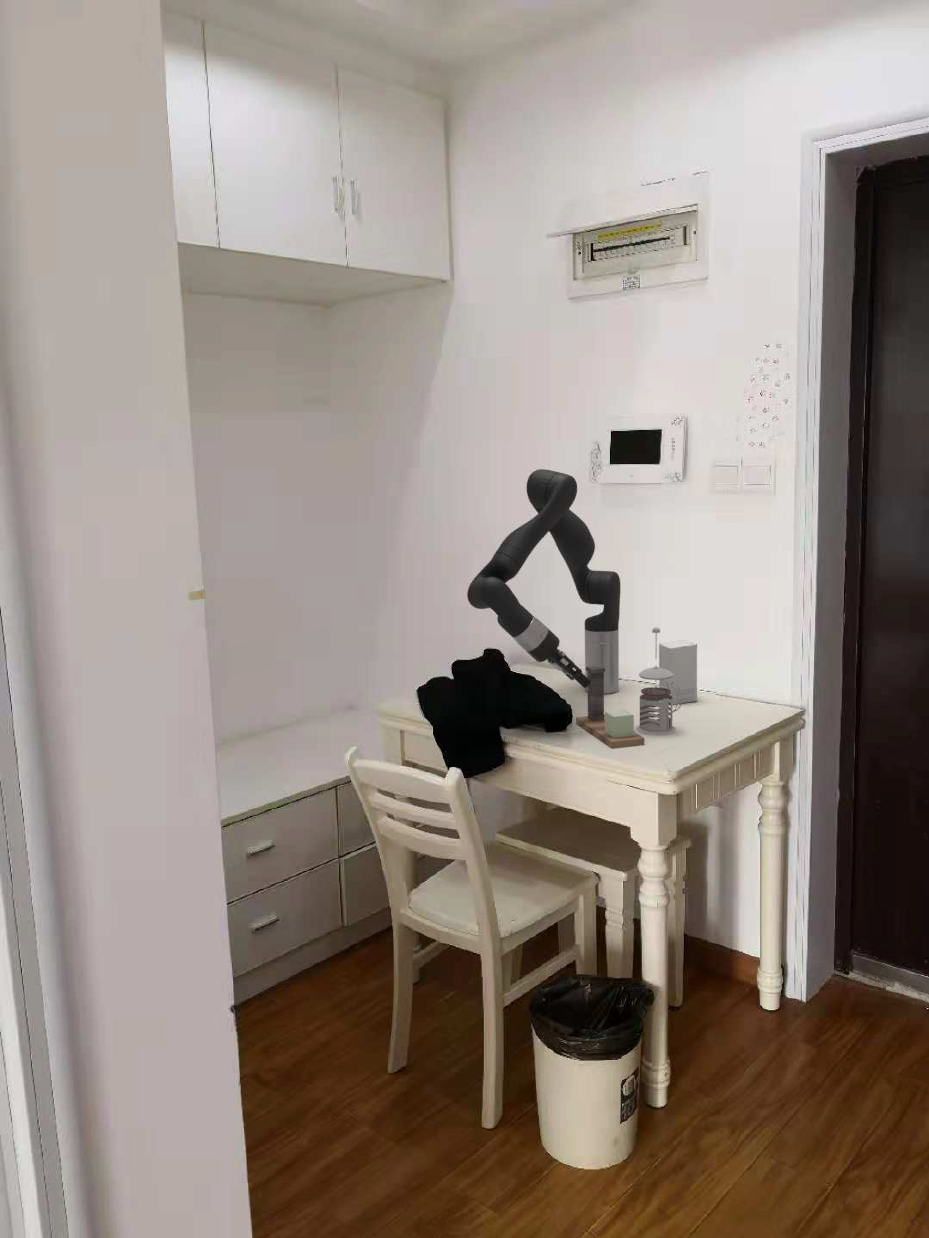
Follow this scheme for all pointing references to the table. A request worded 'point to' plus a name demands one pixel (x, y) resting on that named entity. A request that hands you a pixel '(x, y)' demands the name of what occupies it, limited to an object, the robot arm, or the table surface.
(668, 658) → the skincare box
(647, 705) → the french press
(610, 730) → the sage block
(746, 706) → the table surface
